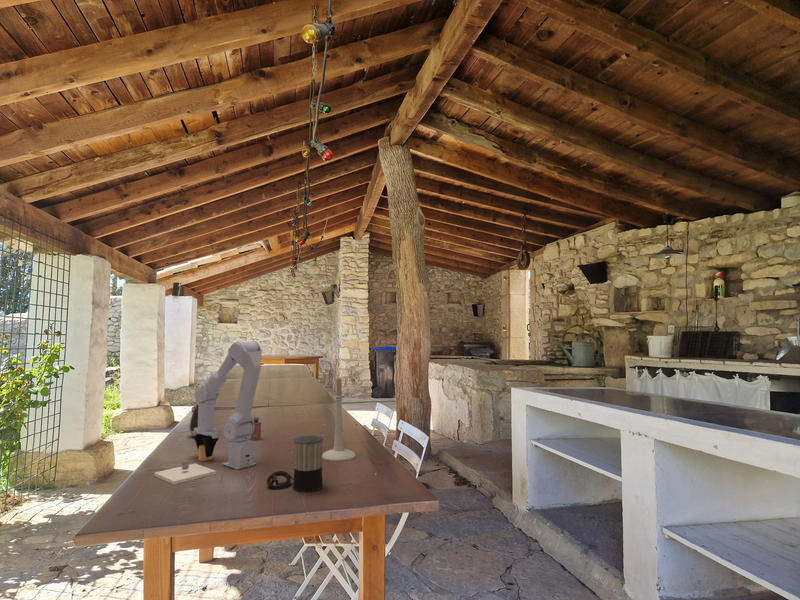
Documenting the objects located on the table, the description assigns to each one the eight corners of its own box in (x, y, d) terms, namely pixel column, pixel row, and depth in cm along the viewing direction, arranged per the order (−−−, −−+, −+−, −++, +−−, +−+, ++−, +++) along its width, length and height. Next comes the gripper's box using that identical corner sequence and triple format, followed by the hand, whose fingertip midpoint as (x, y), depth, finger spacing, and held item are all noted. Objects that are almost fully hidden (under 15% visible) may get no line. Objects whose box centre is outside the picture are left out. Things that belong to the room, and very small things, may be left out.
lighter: (262, 438, 210) (262, 415, 211) (259, 440, 207) (259, 417, 208) (244, 438, 211) (245, 415, 212) (241, 440, 208) (241, 417, 208)
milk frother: (327, 489, 144) (328, 439, 145) (275, 498, 137) (276, 446, 138) (312, 476, 157) (312, 431, 158) (263, 484, 149) (264, 436, 150)
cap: (214, 458, 178) (214, 445, 178) (202, 461, 175) (202, 447, 175) (208, 456, 181) (208, 443, 181) (196, 459, 178) (196, 445, 178)
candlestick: (339, 450, 190) (339, 375, 192) (362, 456, 182) (362, 377, 184) (314, 457, 180) (315, 377, 182) (337, 463, 172) (338, 379, 174)
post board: (215, 474, 160) (216, 459, 160) (173, 484, 149) (174, 468, 149) (195, 466, 169) (195, 452, 169) (154, 475, 158) (154, 461, 158)
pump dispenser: (209, 432, 222) (210, 399, 223) (216, 436, 214) (217, 402, 215) (186, 436, 216) (187, 402, 217) (193, 440, 208) (194, 405, 209)
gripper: (226, 419, 177) (225, 456, 176) (206, 414, 186) (205, 449, 186) (208, 422, 172) (207, 460, 171) (188, 417, 181) (187, 453, 180)
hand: (205, 455), depth 178 cm, fingers closed on cap, 5 cm apart
